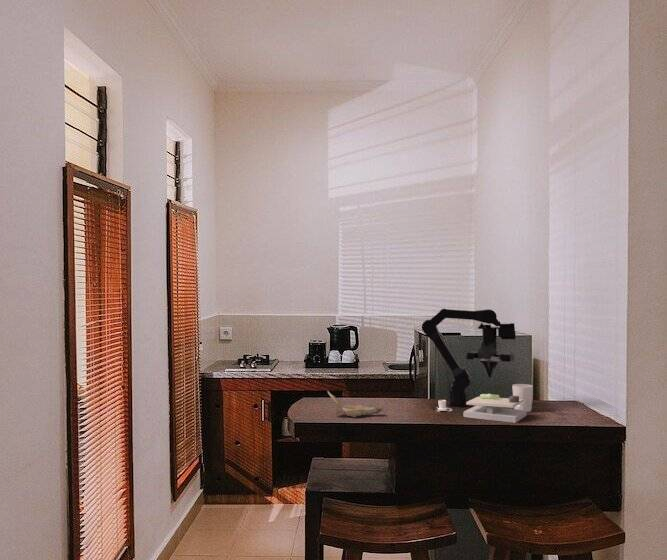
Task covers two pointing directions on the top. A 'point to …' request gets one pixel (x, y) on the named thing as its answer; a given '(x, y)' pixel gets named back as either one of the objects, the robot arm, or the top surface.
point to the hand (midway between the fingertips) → (490, 377)
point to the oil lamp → (354, 408)
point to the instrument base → (495, 413)
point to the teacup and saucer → (443, 405)
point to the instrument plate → (495, 401)
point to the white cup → (523, 396)
